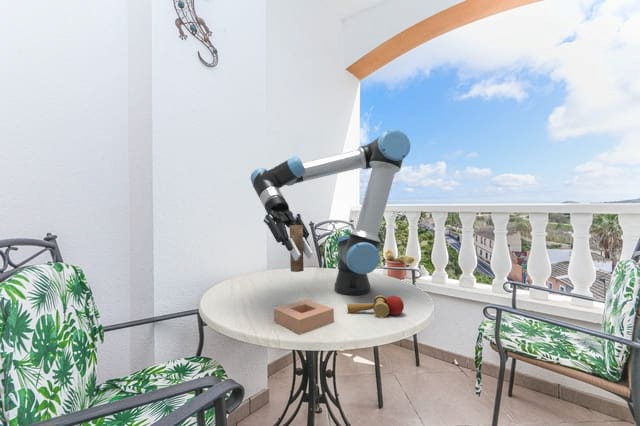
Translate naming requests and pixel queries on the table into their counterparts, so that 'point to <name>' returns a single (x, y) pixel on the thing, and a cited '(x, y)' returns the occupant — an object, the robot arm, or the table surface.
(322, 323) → the socket block
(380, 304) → the kendama
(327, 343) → the table surface
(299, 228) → the peg
